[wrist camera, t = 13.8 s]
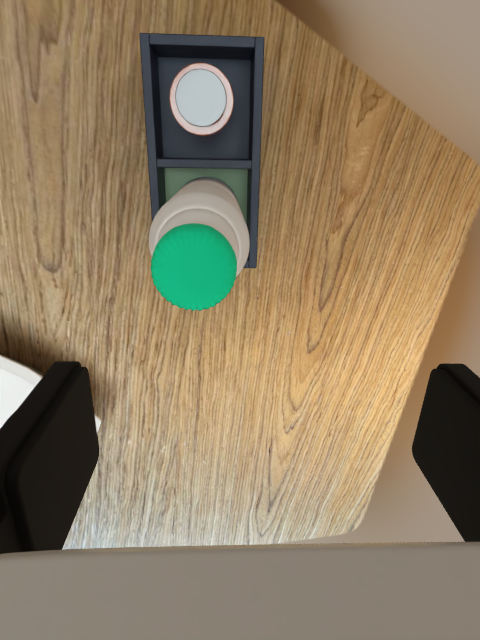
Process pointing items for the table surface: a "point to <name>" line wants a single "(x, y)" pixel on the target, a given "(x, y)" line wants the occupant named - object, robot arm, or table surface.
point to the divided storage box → (197, 153)
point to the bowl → (18, 386)
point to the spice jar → (201, 100)
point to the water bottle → (198, 244)
